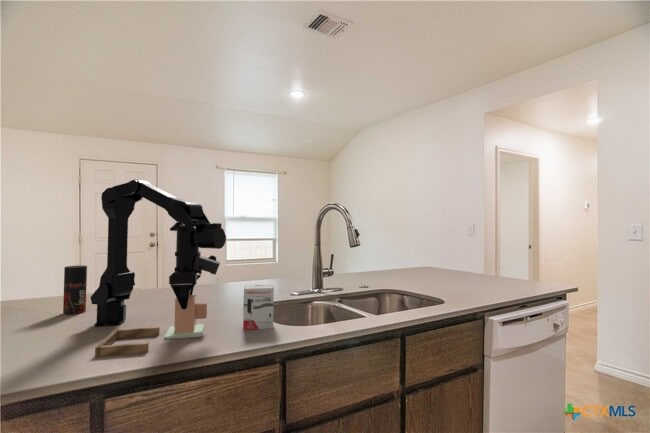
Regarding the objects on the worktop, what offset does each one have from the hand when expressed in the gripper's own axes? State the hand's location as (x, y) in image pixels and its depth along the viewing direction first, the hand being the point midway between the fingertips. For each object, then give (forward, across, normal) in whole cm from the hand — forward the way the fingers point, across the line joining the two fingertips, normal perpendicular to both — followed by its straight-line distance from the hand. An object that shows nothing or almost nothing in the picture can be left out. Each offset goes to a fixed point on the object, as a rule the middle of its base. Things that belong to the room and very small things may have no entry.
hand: (186, 304), depth 91 cm
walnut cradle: (+7, -6, +12) cm, 15 cm away
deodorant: (+8, +30, +38) cm, 48 cm away
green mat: (+7, 0, 0) cm, 7 cm away
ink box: (+8, +1, -19) cm, 21 cm away
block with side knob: (+7, 0, -1) cm, 7 cm away
